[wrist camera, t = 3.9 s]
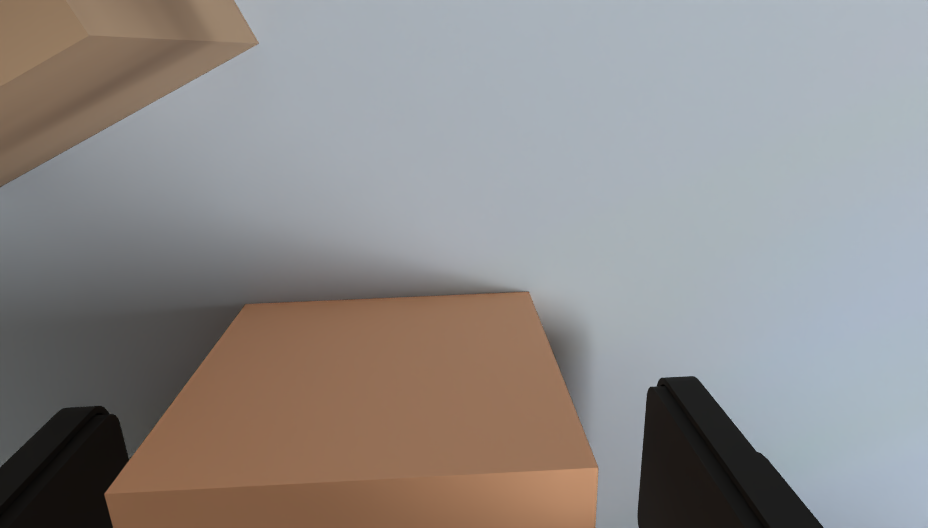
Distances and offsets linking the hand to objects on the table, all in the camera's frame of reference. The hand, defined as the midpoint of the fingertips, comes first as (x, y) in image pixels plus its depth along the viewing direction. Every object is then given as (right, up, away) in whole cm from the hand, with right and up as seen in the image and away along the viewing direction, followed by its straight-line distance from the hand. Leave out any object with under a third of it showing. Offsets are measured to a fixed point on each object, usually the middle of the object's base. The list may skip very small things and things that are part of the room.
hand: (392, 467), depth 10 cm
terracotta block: (0, +1, +1) cm, 1 cm away
